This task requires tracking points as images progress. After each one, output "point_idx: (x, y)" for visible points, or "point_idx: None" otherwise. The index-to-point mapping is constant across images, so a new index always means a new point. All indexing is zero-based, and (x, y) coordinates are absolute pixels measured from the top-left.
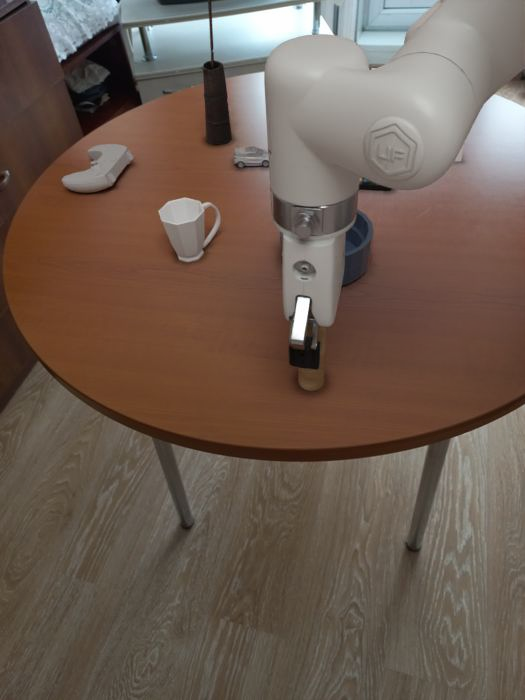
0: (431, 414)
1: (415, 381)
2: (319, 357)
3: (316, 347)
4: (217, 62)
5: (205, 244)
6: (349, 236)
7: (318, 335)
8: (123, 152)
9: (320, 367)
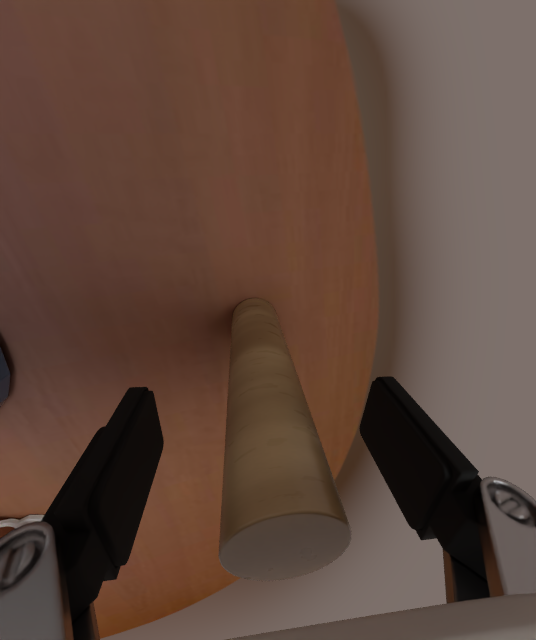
0: (306, 39)
1: (211, 85)
2: (418, 409)
3: (497, 482)
4: None
5: (7, 522)
6: None
7: (310, 419)
8: None
9: (278, 330)
